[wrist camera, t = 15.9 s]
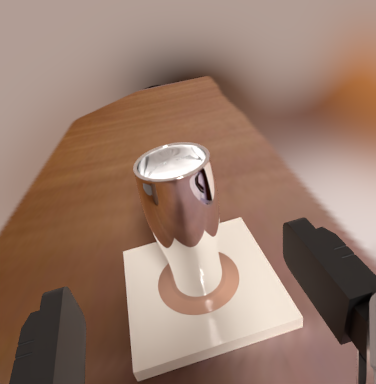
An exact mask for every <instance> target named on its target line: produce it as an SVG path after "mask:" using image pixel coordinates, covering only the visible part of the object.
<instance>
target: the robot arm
mask: <svg viewBox="0 0 376 384" xmlns="http://www.w3.org/2000/svg"><path fill="white" fill-rule="evenodd" d="M283 256H284V259H285V262H286V264H287V266H288V268H289V270H290V271H291V272H292V274H293V275H294V277H295V278H296V280H297V281H298V283H299V284H300V286H301V287H302V289H303V290H304V292H305V293H306V294H307V296H308V297H309V299H310V300H311V302H312V303H313V305H314V306H315V308H316V309H317V311H318V312H319V314H320V315H321V316H322V318H323V319H324V321H325V322H326V324H327V325H328V327H329V328H330V330H331V331H332V333H333V334H334V336H335V337H336V338H337V340H338V341H339V343H340V344H341V345H342V344H345V343H348V342H351V341H352V342H353V343H354V345H355V346H356V348H357V349H358V350H357V369H356V384H376V275H375V274H374V273H373V272H372V271H371V270H370V269H369V268H368V267H367V266H366V265H365V264H364V263H363V262H362V261H361V260H360V259H359V258H358V257H357V256H356V255H354V252H353V251H352V250H351V249H350V248H349V247H348V246H346V244H345V243H344V242H343V241H342V240H341V239H340V238H339V237H338V236H337V235H336V234H335V233H333V232H331V231H329V230H327V229H325V228H323V227H320V228H317V229H315V227H314V226H313V225H312V224H311V223H310V222H309V221H308V220H307V219H306V218H300V219H297V220H293V221H290V222H286V223H284V225H283ZM85 353H86V322H85V318H84V315H83V312H82V310H81V309H80V307H79V305H78V303H77V302H76V300H75V298H74V296H73V295H72V293H71V291H70V289H69V288H68V287H62V288H59V289H55V290H52V291H49V292H45V293H44V294H43V295H42V299H41V305H40V310H39V311H36V312H33V313H31V314H30V315H29V317H28V319H27V320H26V322H25V323H24V325H23V327H22V328H21V333H20V337H19V342H18V347H17V351H16V356H15V358H16V360H15V361H14V365H13V369H12V374H11V378H10V383H9V384H85Z"/></svg>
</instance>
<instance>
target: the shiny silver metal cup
mask: <svg viewBox="0 0 376 384" xmlns="http://www.w3.org/2000/svg"><path fill="white" fill-rule="evenodd" d="M133 171H134V173H135V177H136V182H137V187H138V192H139V196H140V201H141V204H142V208H143V211H144V214H145V217H146V220H147V222H148V225H149V227H150V229H151V231H152V233H153V235H154V237H155V239H156V240H157V242H158V244H159V246H160V247H161V249H162V251H163V252H164V254H165V256H166V258H167V260H168V263H169V266H170V278H171V286H172V289H173V291H174V292H175V294H176V295H177V296H178V297H180V298H181V299H183V300H186V301H189V302H202V301H206V300H209V299H211V298H213V297H214V296H216V295H217V294H218V293H219V292H220V291H221V290H222V289H223V287H224V285H225V282H226V272H225V269H224V267H223V264H222V262H221V260H220V257H219V253H218V237H219V221H220V206H219V197H218V190H217V185H216V180H215V176H214V172H213V168H212V164H211V160H210V154H209V151H208V150H207V149H206V148H205V147H204V146H202V145H199V144H196V143H189V142H180V143H172V144H167V145H163V146H160V147H157V148H154V149H152V150H150V151H148V152H146V153H145V154H143V155H142V156H141V157H139V158H138V160H137V161H136V162H135V164H134V167H133Z"/></svg>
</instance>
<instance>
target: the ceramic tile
mask: <svg viewBox="0 0 376 384" xmlns="http://www.w3.org/2000/svg"><path fill="white" fill-rule="evenodd" d="M218 253H219V257H220V260H221V262H222V264H223V267H224V269H225V272H226V282H225V285H224V287H223V289H222V290H221V291H220V292H219V293H218V294H217V295H216V296H214V297H213V298H211V299H209V300H206V301H202V302H189V301H186V300H183V299H181V298H180V297H178V296H177V295H176V294H175V292H174V291H173V289H172V286H171V278H170V266H169V263H168V260H167V258H166V256H165V254H164V252H163V251H162V249H161V247H160V246H159V244H158V242H154V243H151V244H147V245H144V246H141V247H137V248H134V249H130V250H127V251H123V255H124V267H125V280H126V292H127V304H128V316H129V328H130V340H131V352H132V365H133V374H134V376H135V378H136V379H137V381H141V380H144V379H147V378H150V377H153V376H156V375H159V374H163V373H166V372H169V371H172V370H175V369H178V368H181V367H184V366H187V365H190V364H193V363H196V362H199V361H202V360H205V359H208V358H211V357H214V356H217V355H220V354H223V353H226V352H229V351H232V350H235V349H238V348H241V347H244V346H247V345H250V344H253V343H256V342H259V341H262V340H265V339H268V338H271V337H274V336H277V335H280V334H283V333H286V332H289V331H292V330H295V329H298V328H301V327H303V317H302V315H301V313H300V312H299V310H298V309H297V307H296V305H295V304H294V302H293V301H292V299H291V297H290V296H289V294H288V292H287V291H286V289H285V288H284V286H283V284H282V283H281V281H280V280H279V278H278V276H277V275H276V273H275V272H274V270H273V268H272V267H271V265H270V264H269V262H268V260H267V259H266V257H265V255H264V254H263V252H262V251H261V249H260V247H259V246H258V244H257V243H256V241H255V239H254V238H253V236H252V235H251V233H250V231H249V230H248V228H247V227H246V225H245V223H244V222H243V220H242V218H241V217H240V218H236V219H233V220H229V221H226V222H223V223H219V237H218Z"/></svg>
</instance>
